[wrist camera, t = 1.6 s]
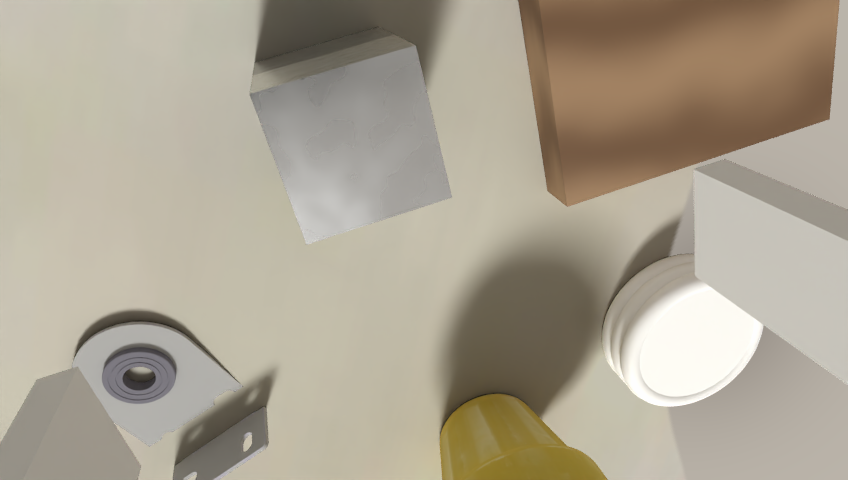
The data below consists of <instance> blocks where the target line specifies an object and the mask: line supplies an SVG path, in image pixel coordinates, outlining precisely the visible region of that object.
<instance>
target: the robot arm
mask: <svg viewBox="0 0 848 480" xmlns="http://www.w3.org/2000/svg"><path fill="white" fill-rule="evenodd" d="M694 241H695V242H694V252H695V276H696V277H697V278H699V279H700V280H701V281H703V282H704V283H706V284H707V285H708V286H710V287H711V288H713V289H714V290H715V291H717V292H718V293H720V294H721V295H722V296H724V297H725V298H727V299H728V300H729V301H731V302H732V303H734V304H735V305H736V306H738V307H739V308H741V309H742V310H743V311H745V312H746V313H748V314H749V315H750V316H752V317H753V318H755V319H756V320H757V321H759V322H760V323H762V324H763V325H765V326H766V327H767V328H769V329H770V330H771V331H773V332H774V333H776V334H777V335H778V336H780V337H781V338H783V339H784V340H785V341H787V342H788V343H790V344H791V345H792V346H794V347H795V348H797V349H798V350H799V351H801V352H802V353H804V354H805V355H806V356H808V357H809V358H811V359H812V360H814V361H815V362H816V363H818V364H819V365H820V366H822V367H823V368H825V369H826V370H827V371H829V372H830V373H832V374H833V375H834V376H836V377H837V378H839V379H840V380H841V381H843V382H844V383H846V384H847V385H848V209H845V208H843V207H840V206H838V205H835V204H833V203H830V202H828V201H825V200H823V199H821V198H818V197H816V196H814V195H811V194H809V193H806V192H804V191H801V190H799V189H797V188H794V187H792V186H789V185H787V184H784V183H782V182H780V181H777V180H775V179H772V178H770V177H767V176H765V175H763V174H760V173H757V172H755V171H753V170H750V169H748V168H746V167H743V166H740V165H738V164H736V163H733V162H731V161H728V160H726V159H724V160H721V161H718V162H715V163H711V164H708V165H705V166H702V167H699V168H696V169H694ZM140 468H141V465H140V463H139V462H138V460H137V459H136V457H135V456H134V454H133V452H132V451H131V449H130V448H129V446H128V445H127V443H126V441H125V440H124V438H123V437H122V435H121V434H120V432H119V430H118V429H117V427H116V426H115V424H114V423H113V421H112V419H111V418H110V416H109V415H108V413H107V412H106V410H105V409H104V407H103V405H102V404H101V402H100V401H99V399H98V398H97V396H96V394H95V393H94V391H93V390H92V388H91V387H90V385H89V383H88V382H87V380H86V379H85V377H84V376H83V374H82V372H81V371H80V369H79V368H78V367H75V368H71V369H68V370H65V371H62V372H59V373H56V374H53V375H50V376H46V377H43V378H40V379H37V380H36V382H35V383H34V385H33V387H32V389H31V390H30V392H29V394H28V396H27V398H26V399H25V401H24V403H23V405H22V406H21V408H20V410H19V412H18V413H17V415H16V417H15V419H14V420H13V422H12V424H11V426H10V427H9V429H8V431H7V433H6V434H5V436H4V438H3V440H2V442H1V443H0V480H138V476H139V472H140Z"/></svg>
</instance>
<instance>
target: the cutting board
mask: <svg viewBox="0 0 848 480" xmlns="http://www.w3.org/2000/svg"><path fill="white" fill-rule="evenodd" d="M518 1H519V8H520V14H521V21H522V27H523V34H524V40H525V47H526V53H527V60H528V66H529V73H530V79H531V86H532V92H533V99H534V105H535V112H536V118H537V125H538V131H539V138H540V144H541V151H542V157H543V164H544V170H545V177H546V183H547V190H548V192H549V193H551V194H552V195H553V196H555V197H556V198H557V199H558V200H560V201H561V202H562V203H563V204H565V205H566V206H567V207H568V206H571V205H574V204H577V203H580V202H583V201H586V200H589V199H592V198H595V197H598V196H601V195H604V194H607V193H610V192H613V191H616V190H619V189H622V188H625V187H628V186H631V185H634V184H637V183H640V182H643V181H646V180H649V179H652V178H655V177H658V176H661V175H664V174H667V173H670V172H673V171H676V170H679V169H682V168H685V167H688V166H691V165H694V164H697V163H700V162H703V161H706V160H708V159H712V158H715V157H718V156H721V155H723V154H726V153H729V152H732V151H735V150H738V149H741V148H744V147H747V146H750V145H753V144H756V143H759V142H762V141H765V140H768V139H771V138H774V137H777V136H780V135H783V134H786V133H789V132H792V131H795V130H798V129H801V128H804V127H807V126H810V125H813V124H816V123H819V122H822V121H825V120H828V119H829V118H830V106H831V94H832V82H833V71H834V58H835V47H836V35H837V23H838V11H839V0H518Z"/></svg>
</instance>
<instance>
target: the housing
mask: <svg viewBox="0 0 848 480" xmlns="http://www.w3.org/2000/svg"><path fill="white" fill-rule="evenodd" d="M250 97H251V99H252V102H253V104H254V107H255V110H256V112H257V115H258V118H259V120H260V123H261V126H262V128H263V131H264V133H265V136H266V139H267V141H268V144H269V147H270V149H271V152H272V155H273V157H274V160H275V162H276V165H277V168H278V170H279V173H280V176H281V178H282V181H283V184H284V186H285V189H286V191H287V194H288V197H289V199H290V202H291V205H292V207H293V210H294V213H295V215H296V218H297V220H298V223H299V226H300V228H301V231H302V234H303V236H304V239H305V242H306V244H310V243H313V242H316V241H319V240H322V239H325V238H329V237H332V236H335V235H338V234H341V233H344V232H347V231H350V230H353V229H356V228H359V227H362V226H365V225H368V224H372V223H375V222H378V221H381V220H384V219H387V218H390V217H393V216H396V215H399V214H402V213H405V212H408V211H412V210H415V209H418V208H421V207H424V206H427V205H430V204H433V203H436V202H439V201H442V200H445V199H448V198H452V195H451V191H450V187H449V183H448V178H447V174H446V170H445V166H444V162H443V157H442V153H441V149H440V145H439V141H438V136H437V132H436V128H435V124H434V119H433V115H432V111H431V107H430V103H429V98H428V94H427V90H426V86H425V82H424V77H423V73H422V69H421V65H420V61H419V56H418V52H417V48H416V45H415V44H412V43H410V42H408V41H406V40H404V39H402V38H400V37H398V36H396V35H394V34H392V33H390V32H388V31H386V30H384V29H382V28H380V27H376V28H372V29H369V30H365V31H362V32H358V33H355V34H351V35H348V36H345V37H341V38H338V39H334V40H331V41H327V42H324V43H320V44H317V45H313V46H310V47H306V48H303V49H299V50H296V51H292V52H289V53H285V54H282V55H279V56H275V57H272V58H268V59H265V60H261V61H258V62H255V64H254V70H253V76H252V82H251V88H250Z"/></svg>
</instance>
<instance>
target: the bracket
mask: <svg viewBox="0 0 848 480" xmlns="http://www.w3.org/2000/svg"><path fill="white" fill-rule="evenodd" d="M75 367H78V368H79V369H80V371H81V372H82V374H83V376H84V377H85V379H86V380H87V382H88V383H89V385H90V387H91V388H92V390H93V391H94V393H95V394H96V396H97V398H98V399H99V401H100V402H101V404H102V405H103V407H104V409H105V410H106V412H107V413H108V415H109V416H110V418H111V419H112V421H113V422H114V423H115V424H117V425H118V426H120V427H121V428H123V429H124V430H126V431H127V432H129V433H130V434H132V435H133V436H135V437H136V438H138V439H139V440H141V441H142V442H143V443H145V444H146V445H148V446H149V447H150V446H151V445H153V444H155V443H156V442H158V441H159V440H161V439H162V436H163V434H165V433H167V432H173V431H175V430H176V429H178V428H179V427H181V426H183V425H184V424H186V423H187V422H189V421H190V420H192V419H193V418H195V417H197V416H198V415H200V414H201V413H203V412H204V411H206V410H208V409H209V408H211V407H212V406H214V403H213V401H214V399H215V398H216V397H218V396H219V395H220V394H222V393H223V392H225V391H229V390H230V391H234V392H236V391H237V390H239V389H240V388H242V387H243V386H242V385H241V384H240V383H239V382H238V381H237V380H236V379H235V378H233V377H232V376H231V375H230V374H229V373H228V372H227V371H226V370H225V369H224V368H223V367H222V366H221V365H220V364H218V363H217V362H216V361H215V360H214V359H213V358H212V357H211V356H210V355H209V354H208V353H207V352H205V351H204V350H203V349H202V348H201V347H200V346H198V345H197V344H196V343H195V342H194V341H193V340H191V339H190V338H189V337H188V336H186V335H185V334H183V333H182V332H180V331H178V330H176V329H174V328H171V327H169V326H166V325H162V324H158V323H152V322H128V323H122V324H118V325H114V326H111V327H108V328H106V329H103V330H101V331H99V332H98V333H96V334H94V335H93V336H92V337H90V338H89V339H88V340H87V341H86V342H85V343H84V344H83V345H82V346H81V347H80V349H79V350H78V352H77V354H76V356H75V358H74V361H73V364H72V368H75ZM133 367H146V368H149V369H150V370H152V371H153V372H154V373H155V375H156V376H155V377H154V378H153V379H151V380H150V381H147V382H136V381H133V380H131V379H129V378H128V377H127V375H126V373H125V372H126V371H127V370H129V369H131V368H133ZM249 435H252V445H251V447H250V448H249V449H248V450H247V451H246V452H243V443H244V441H245V439H246V438H247V437H248V436H249ZM268 443H269V441H268V425H267V409H266V407H262V408H261V409H259V410H258V411H256V412H253V413H252V414H250V415H249V416H247V417H246V418H244V419H243V420H241V421H240V422H238V423H237V424H235V425H234V426H232V427H231V428H229V429H228V430H226V431H225V432H223V433H222V434H220V435H219V436H217V437H216V438H214V439H213V440H211V441H210V442H208V443H207V444H205V445H204V446H202V447H201V448H200V449H198V450H197V451H195V452H194V453H192V454H191V455H189V456H188V457H186V458H185V459H183V461H181V462H180V463H178V464H177V465H175V466H174V473H173V480H188V479H189V478H191V477H192V476H194V475H195V474H197V477H196V479H195V480H219V479H221V478H222V477H224V476H225V475H227V474H228V473H230V472H231V471H233V470H234V469H236V468H237V467H239V466H240V465H242V464H244V463H245V462H247V461H248V460H250V459H251V458H253V457H254V456H256V455H257V454H259V453H260V452H262V451H263V450H264V449H266V448H267V446H268Z"/></svg>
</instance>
